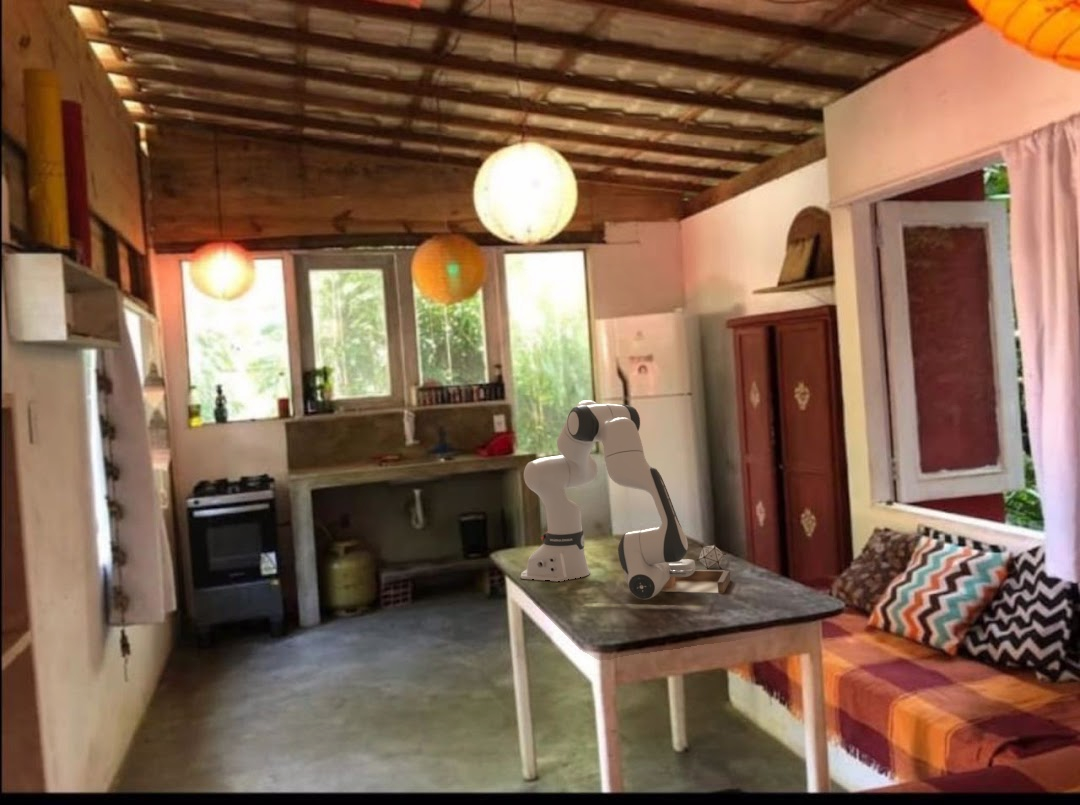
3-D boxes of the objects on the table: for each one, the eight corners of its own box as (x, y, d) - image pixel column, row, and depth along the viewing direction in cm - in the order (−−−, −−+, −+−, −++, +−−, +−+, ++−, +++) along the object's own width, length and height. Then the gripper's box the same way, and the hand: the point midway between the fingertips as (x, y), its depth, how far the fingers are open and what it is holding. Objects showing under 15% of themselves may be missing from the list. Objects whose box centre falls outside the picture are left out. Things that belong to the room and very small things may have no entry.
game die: (717, 581, 268) (726, 560, 262) (691, 572, 270) (699, 551, 264) (722, 562, 275) (730, 541, 269) (696, 553, 277) (704, 532, 271)
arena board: (647, 594, 245) (646, 580, 245) (657, 582, 258) (656, 569, 258) (723, 596, 238) (723, 582, 238) (730, 583, 251) (729, 570, 251)
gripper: (690, 561, 234) (698, 550, 247) (618, 560, 241) (630, 550, 254) (691, 584, 235) (700, 572, 248) (620, 582, 242) (631, 570, 255)
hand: (664, 560), depth 251 cm, fingers open, 7 cm apart
